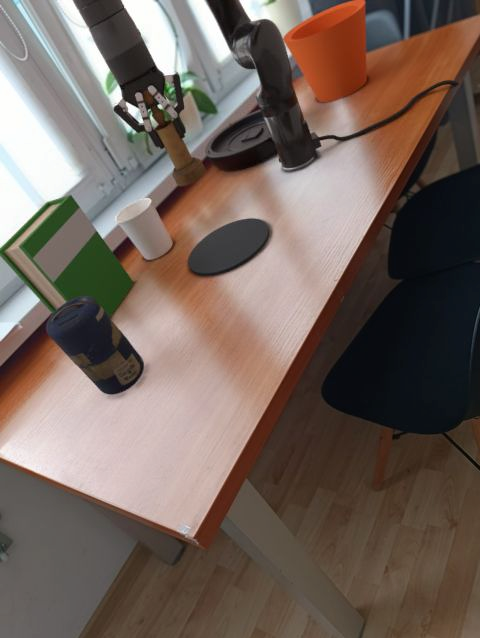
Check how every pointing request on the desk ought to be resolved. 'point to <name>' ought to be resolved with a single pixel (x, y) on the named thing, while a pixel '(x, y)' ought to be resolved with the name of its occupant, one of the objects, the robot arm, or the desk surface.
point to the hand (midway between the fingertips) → (172, 141)
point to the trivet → (228, 247)
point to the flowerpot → (332, 50)
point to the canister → (95, 345)
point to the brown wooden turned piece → (175, 147)
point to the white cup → (145, 228)
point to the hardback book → (66, 258)
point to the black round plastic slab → (241, 144)
